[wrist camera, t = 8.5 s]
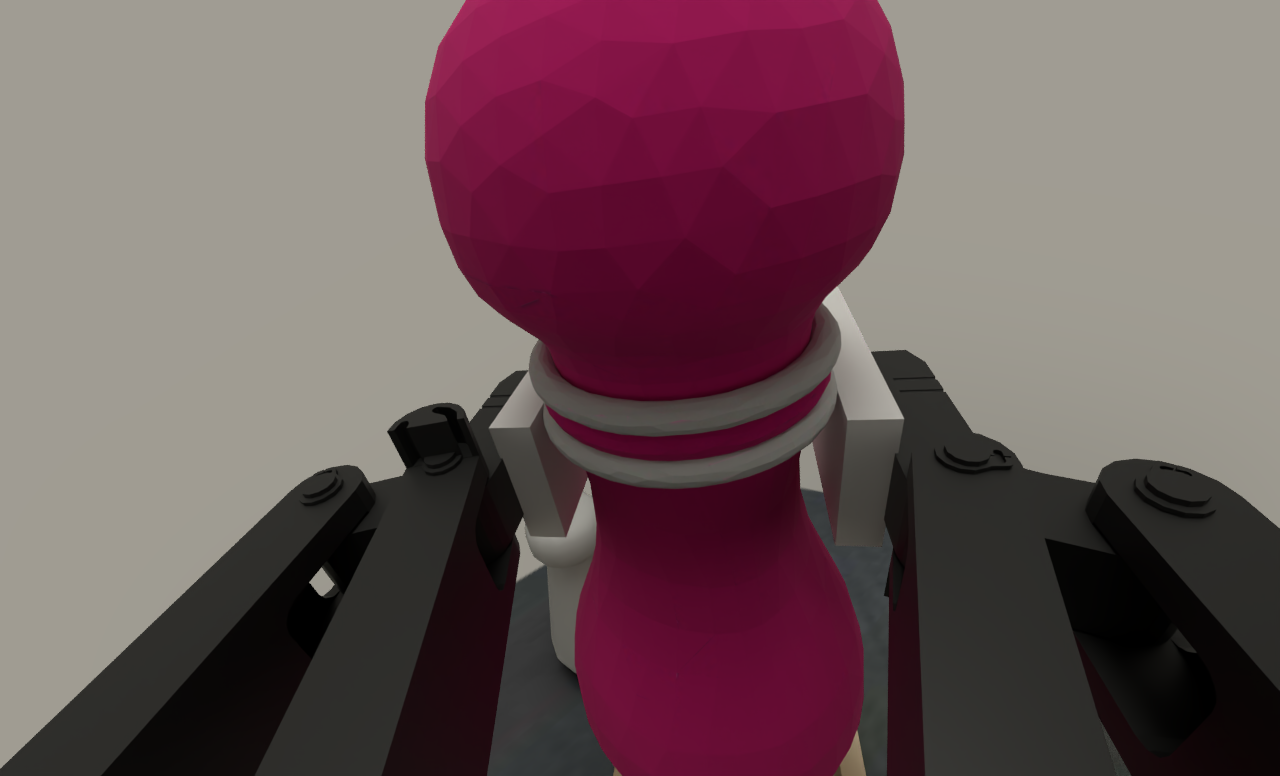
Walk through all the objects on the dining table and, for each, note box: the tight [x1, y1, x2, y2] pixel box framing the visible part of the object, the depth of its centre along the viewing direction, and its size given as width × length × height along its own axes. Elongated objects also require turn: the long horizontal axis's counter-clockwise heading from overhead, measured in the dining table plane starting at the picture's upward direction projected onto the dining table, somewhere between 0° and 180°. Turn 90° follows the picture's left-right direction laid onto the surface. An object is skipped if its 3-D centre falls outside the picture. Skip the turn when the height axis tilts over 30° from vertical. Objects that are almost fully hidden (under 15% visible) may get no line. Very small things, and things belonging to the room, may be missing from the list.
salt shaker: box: [525, 492, 597, 673], centre depth 29 cm, size 6×6×13 cm
